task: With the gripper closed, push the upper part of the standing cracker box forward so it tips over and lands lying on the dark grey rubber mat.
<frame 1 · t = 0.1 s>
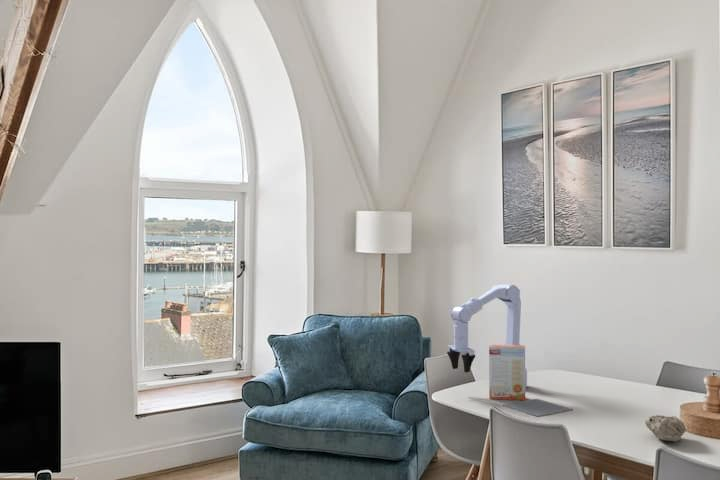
hand: (461, 370, 271), 10 cm above the table, tool pointing down, fingers open, 7 cm apart
pumice stone: (665, 441, 212), on the table
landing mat: (537, 407, 252), on the table
cracker box: (507, 398, 266), on the table
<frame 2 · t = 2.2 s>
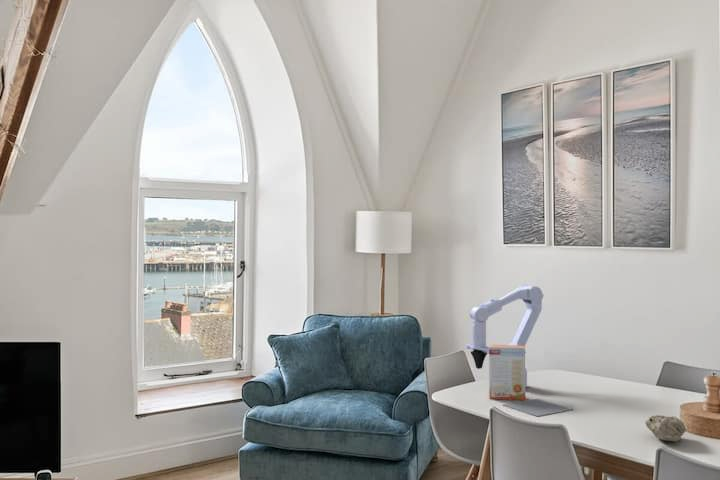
hand: (479, 368, 281), 9 cm above the table, tool pointing down, fingers closed
nothing on the table moved.
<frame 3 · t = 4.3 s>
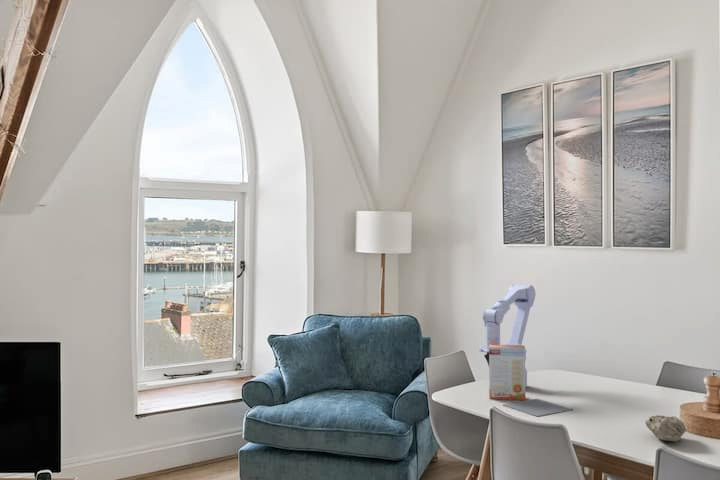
hand: (492, 371, 273), 9 cm above the table, tool pointing down, fingers closed
cracker box: (507, 398, 266), on the table, touching gripper
everything else where it was.
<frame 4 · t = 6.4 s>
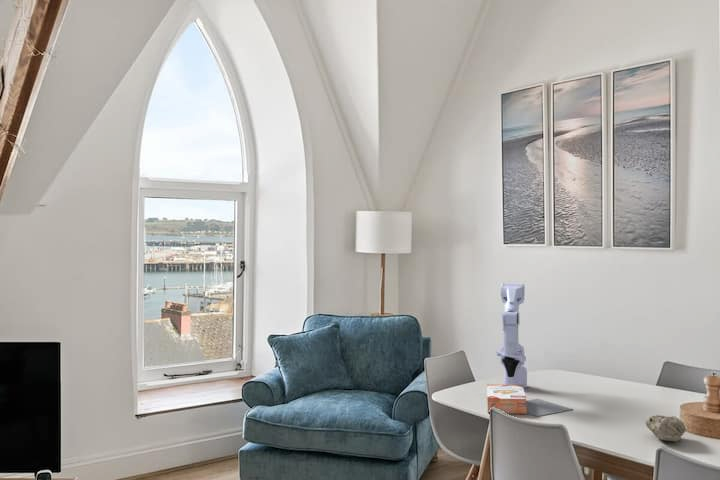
hand: (510, 376, 264), 9 cm above the table, tool pointing down, fingers closed
cracker box: (504, 390, 264), point 4 cm above the table, touching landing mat
everything else where it was.
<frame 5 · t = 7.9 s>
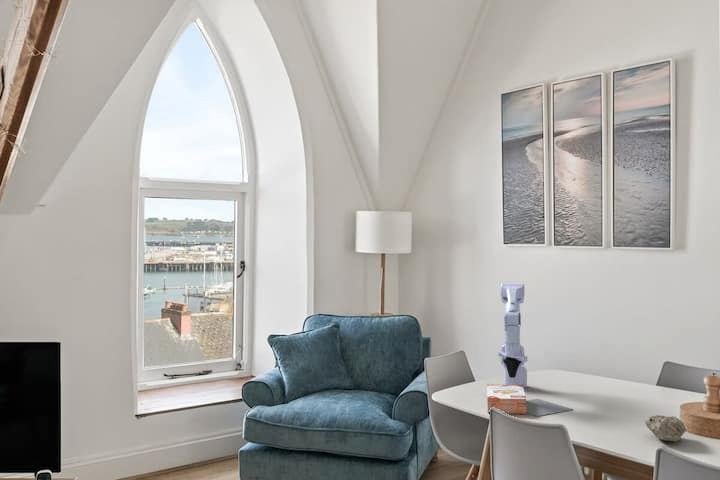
hand: (512, 377, 263), 9 cm above the table, tool pointing down, fingers closed
nothing on the table moved.
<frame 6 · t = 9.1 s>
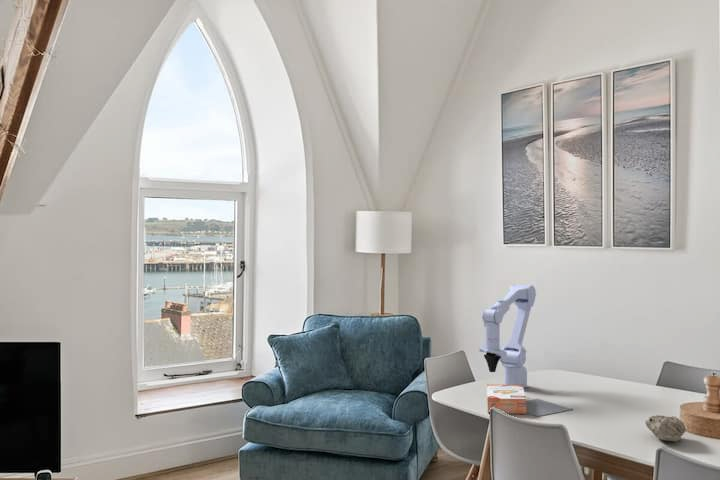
hand: (492, 371, 274), 9 cm above the table, tool pointing down, fingers closed
nothing on the table moved.
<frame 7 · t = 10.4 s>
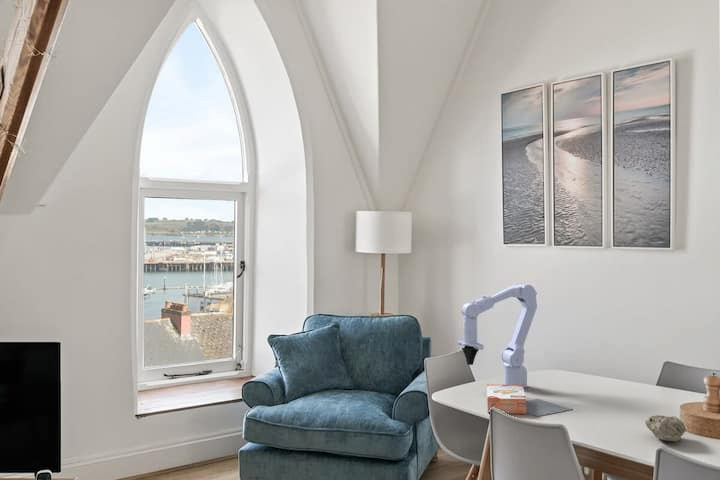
hand: (470, 364, 281), 10 cm above the table, tool pointing down, fingers closed
nothing on the table moved.
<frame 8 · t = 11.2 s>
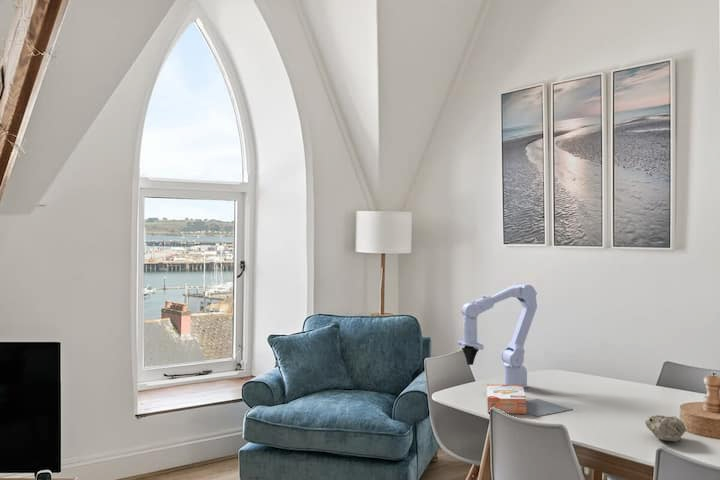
hand: (470, 364, 281), 10 cm above the table, tool pointing down, fingers closed
nothing on the table moved.
at the end: cracker box tilted 92°; cracker box inside the target area on the table beside the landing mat (5.3 cm from its centre), point 3.6 cm above the table; the gripper is holding nothing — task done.
